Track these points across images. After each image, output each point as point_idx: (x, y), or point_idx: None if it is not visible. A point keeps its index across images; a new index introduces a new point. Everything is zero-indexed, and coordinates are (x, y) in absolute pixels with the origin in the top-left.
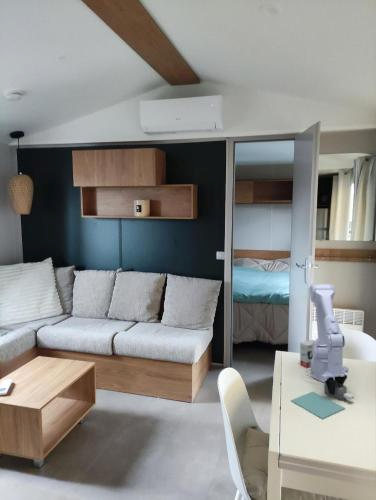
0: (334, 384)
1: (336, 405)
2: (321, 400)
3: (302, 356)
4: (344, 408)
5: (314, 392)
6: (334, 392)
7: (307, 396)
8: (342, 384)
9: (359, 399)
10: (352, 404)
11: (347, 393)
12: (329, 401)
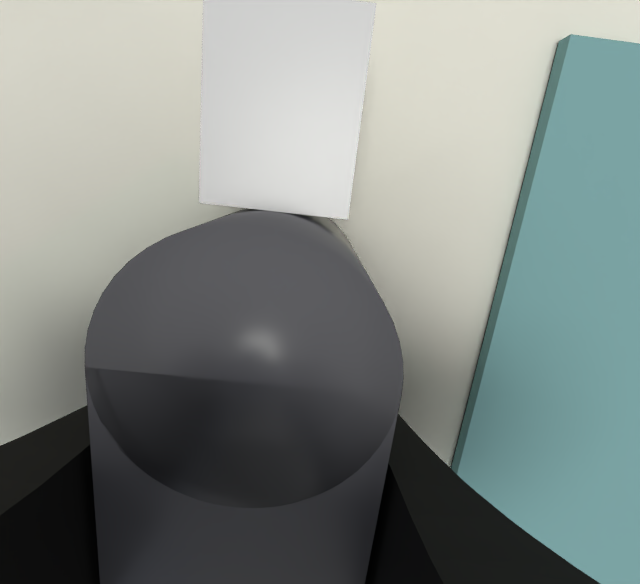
0: (531, 581)
1: (584, 193)
2: (582, 420)
3: None
4: (586, 39)
5: None
6: None
7: (593, 573)
8: (60, 445)
9: (51, 51)
10: None
11: (239, 174)
12: (532, 335)
